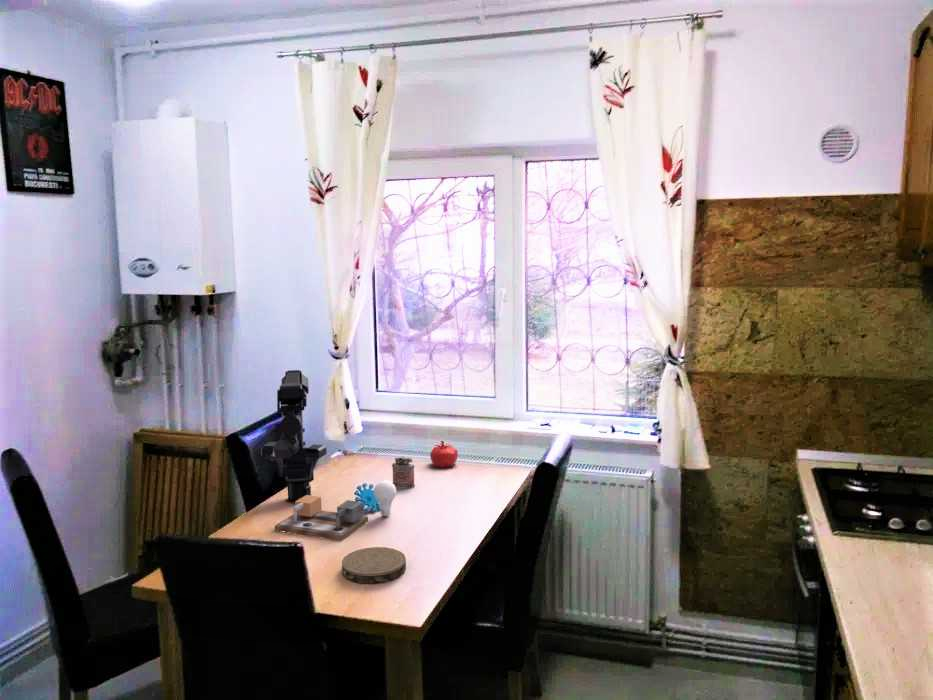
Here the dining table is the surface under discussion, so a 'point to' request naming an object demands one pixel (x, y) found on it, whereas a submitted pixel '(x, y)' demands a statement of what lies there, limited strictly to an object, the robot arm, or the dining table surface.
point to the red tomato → (443, 455)
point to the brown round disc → (373, 565)
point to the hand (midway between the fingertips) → (295, 478)
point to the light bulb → (385, 496)
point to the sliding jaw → (307, 506)
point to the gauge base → (327, 522)
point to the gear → (367, 497)
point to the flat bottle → (403, 472)
